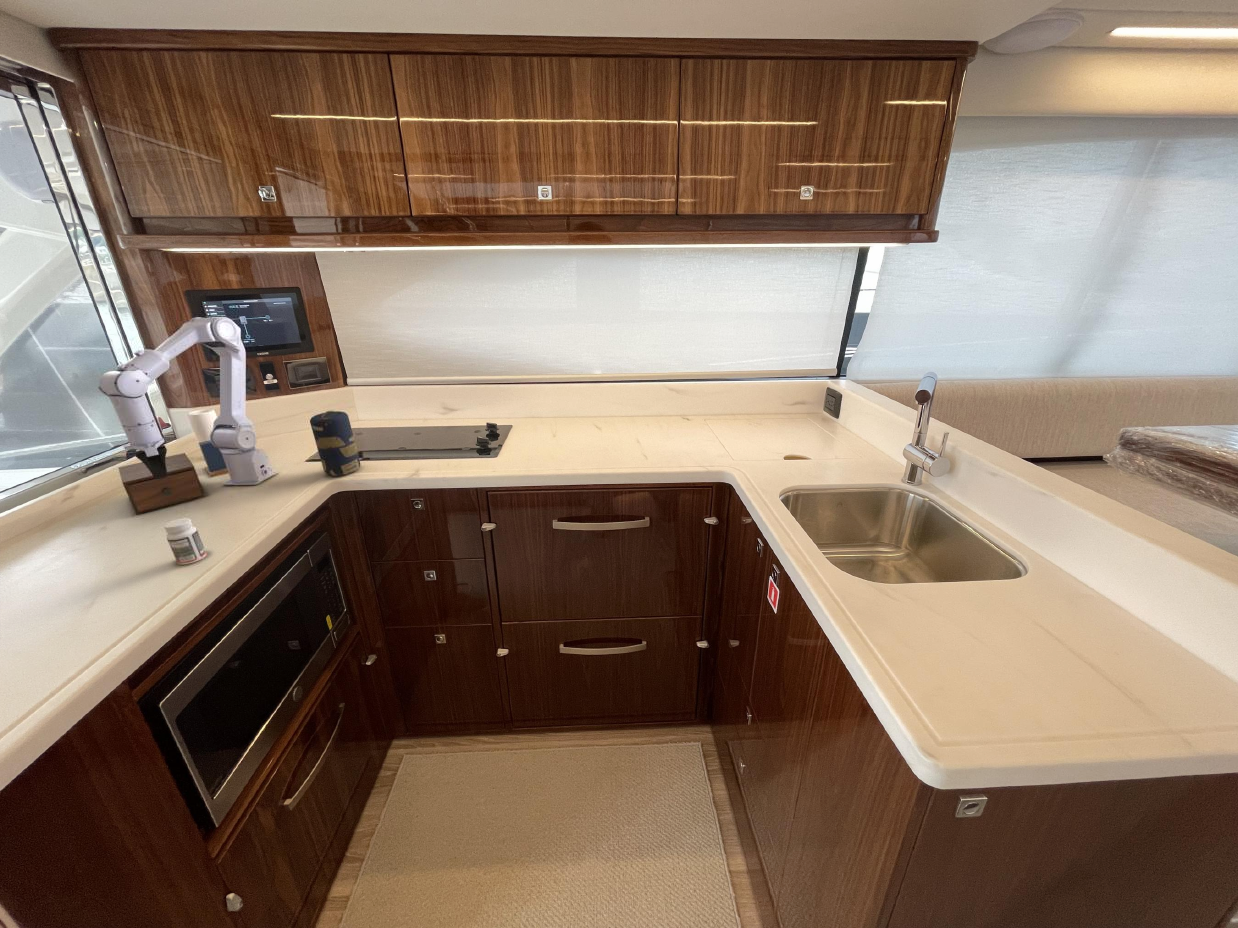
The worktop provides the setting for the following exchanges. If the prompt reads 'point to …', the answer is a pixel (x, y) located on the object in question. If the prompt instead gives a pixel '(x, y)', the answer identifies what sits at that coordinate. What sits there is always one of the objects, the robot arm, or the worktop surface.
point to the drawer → (164, 490)
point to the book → (212, 456)
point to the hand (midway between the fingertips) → (161, 477)
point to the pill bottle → (184, 541)
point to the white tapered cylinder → (202, 423)
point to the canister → (335, 442)
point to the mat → (217, 472)
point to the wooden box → (143, 473)
